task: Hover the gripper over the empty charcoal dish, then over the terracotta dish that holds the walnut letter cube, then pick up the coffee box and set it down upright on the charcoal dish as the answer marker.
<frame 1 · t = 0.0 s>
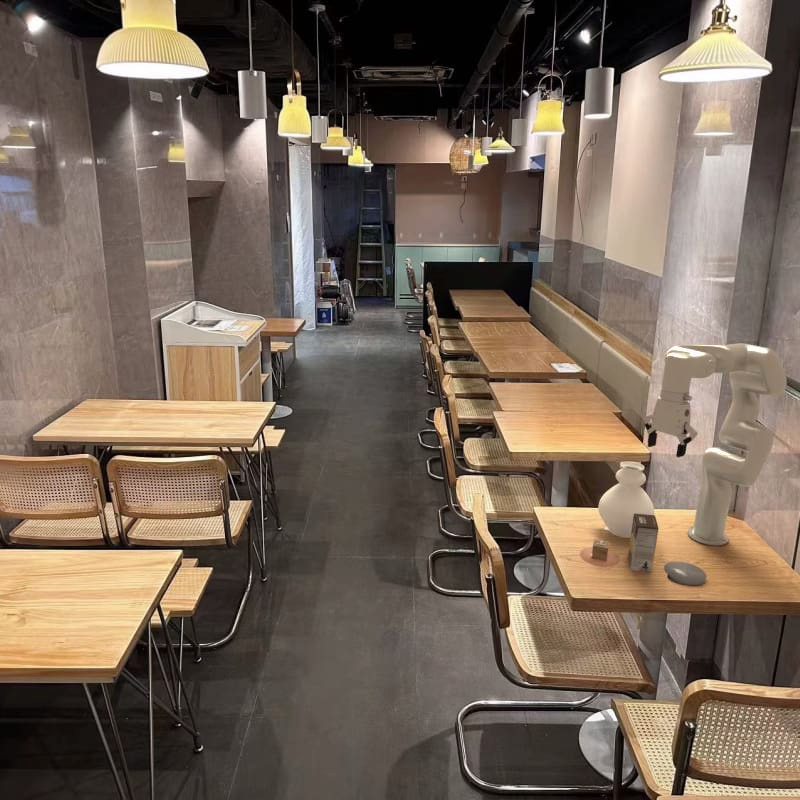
hand: (665, 451, 206), 37 cm above the table, tool pointing down, fingers open, 9 cm apart
decorative vase: (622, 535, 234), on the table
charcoal dish: (684, 575, 210), on the table
coffee box: (638, 568, 214), on the table
terracotta dish: (599, 559, 217), on the table
letter cube: (599, 556, 217), point 1 cm above the table, touching terracotta dish
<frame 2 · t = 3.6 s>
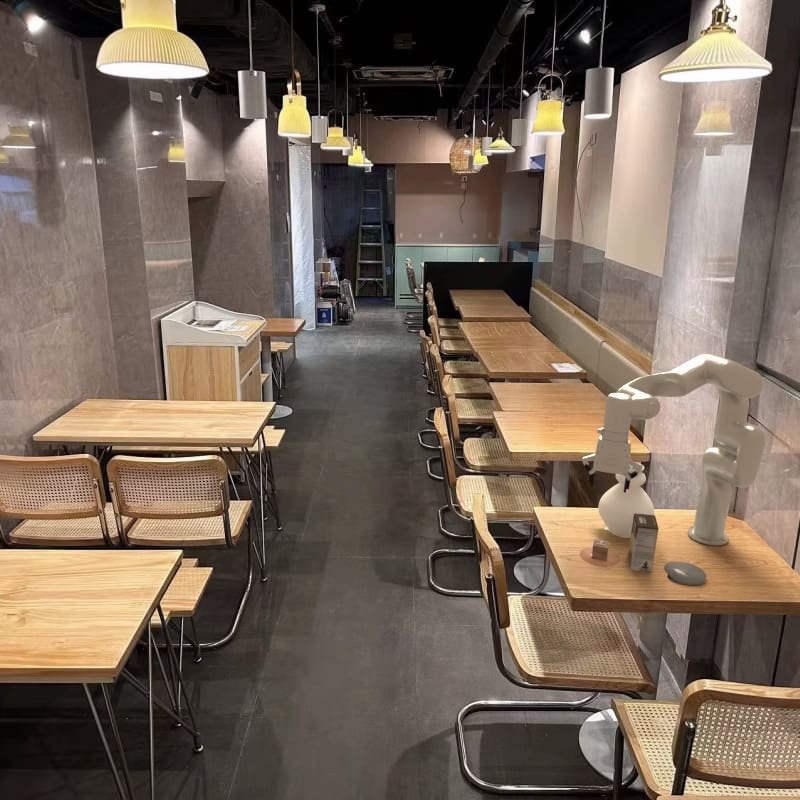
hand: (608, 488, 210), 24 cm above the table, tool pointing down, fingers open, 9 cm apart
nothing on the table moved.
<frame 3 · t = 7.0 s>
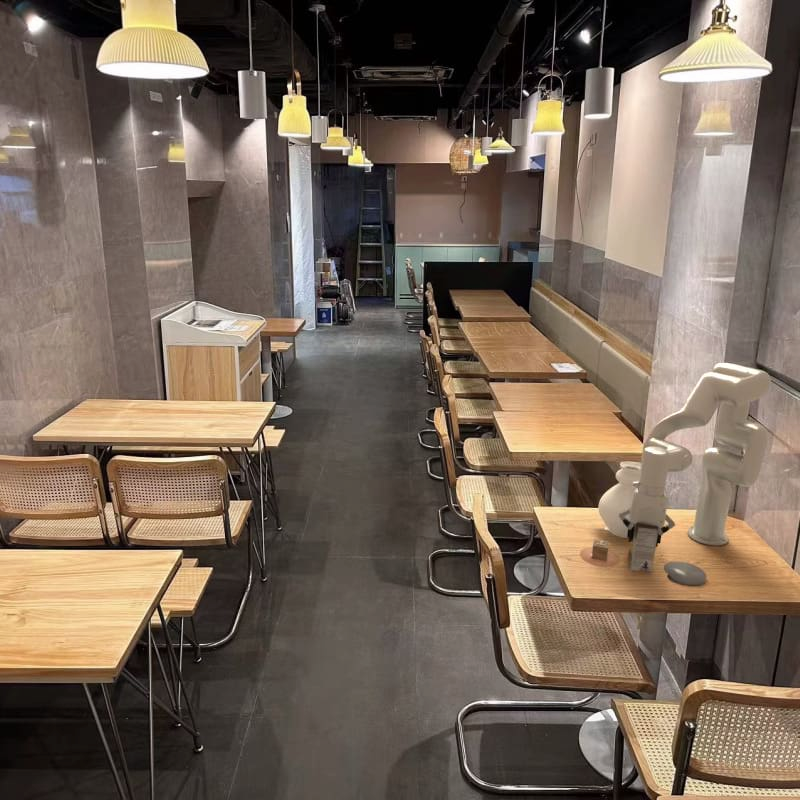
hand: (643, 542, 211), 9 cm above the table, tool pointing down, fingers closed on coffee box, 6 cm apart
coffee box: (638, 567, 214), on the table, touching gripper
everything else where it was.
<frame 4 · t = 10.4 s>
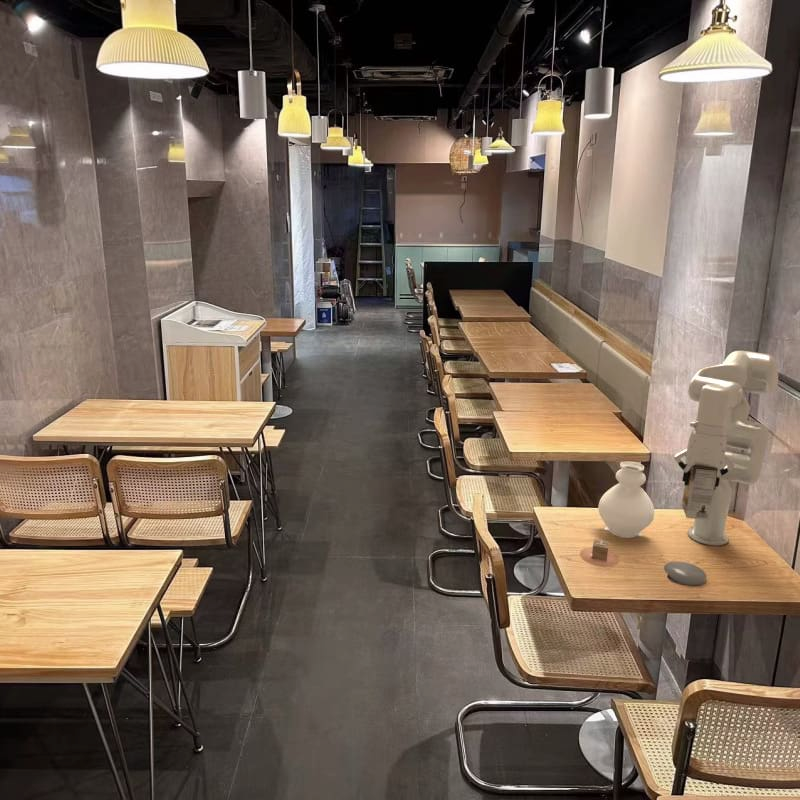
hand: (699, 485, 202), 29 cm above the table, tool pointing down, fingers closed on coffee box, 6 cm apart
coffee box: (694, 513, 205), point 20 cm above the table, touching gripper
everything else where it was.
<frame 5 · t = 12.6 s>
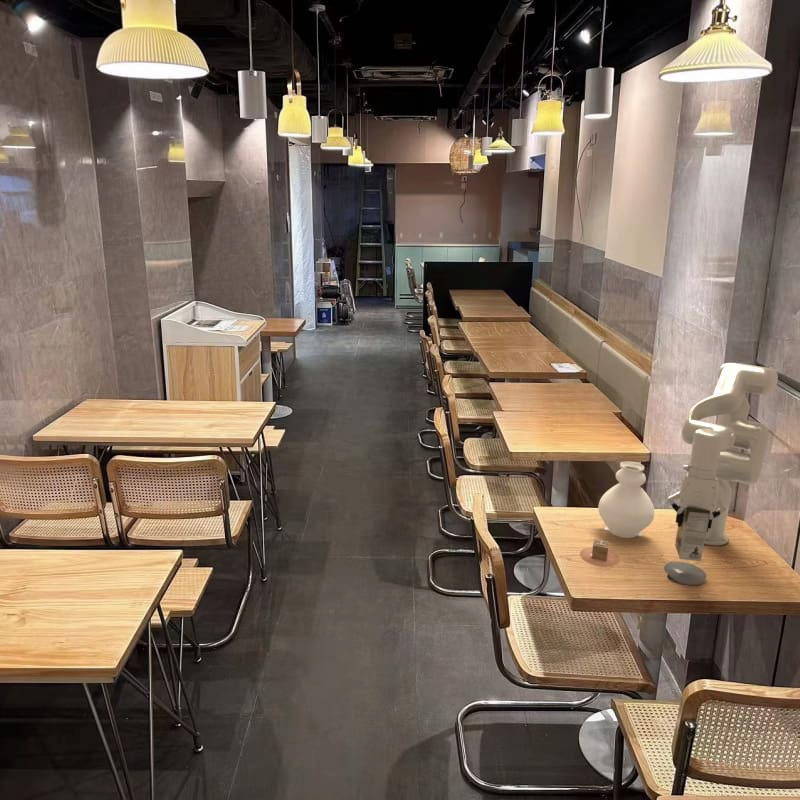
hand: (692, 527, 205), 16 cm above the table, tool pointing down, fingers closed on coffee box, 6 cm apart
coffee box: (687, 554, 208), point 7 cm above the table, touching gripper
everything else where it was.
when the fingers open (12 cm above the table, at t = 14.2 s): coffee box drops 2 cm, resting on charcoal dish.
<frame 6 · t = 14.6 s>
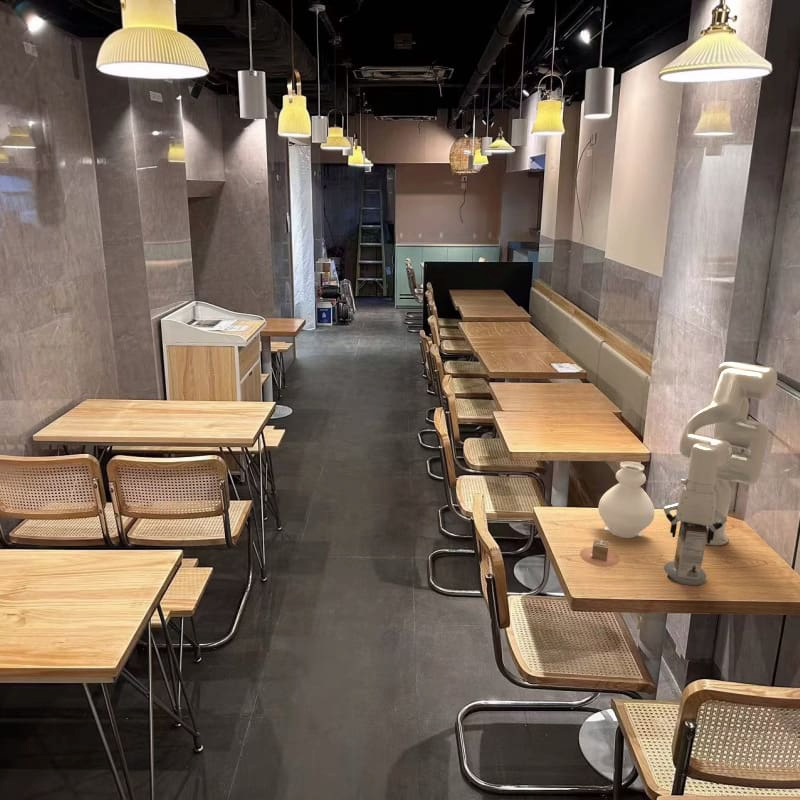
hand: (690, 538, 207), 12 cm above the table, tool pointing down, fingers open, 9 cm apart
coffee box: (686, 571, 210), point 1 cm above the table, touching charcoal dish
everything else where it was.
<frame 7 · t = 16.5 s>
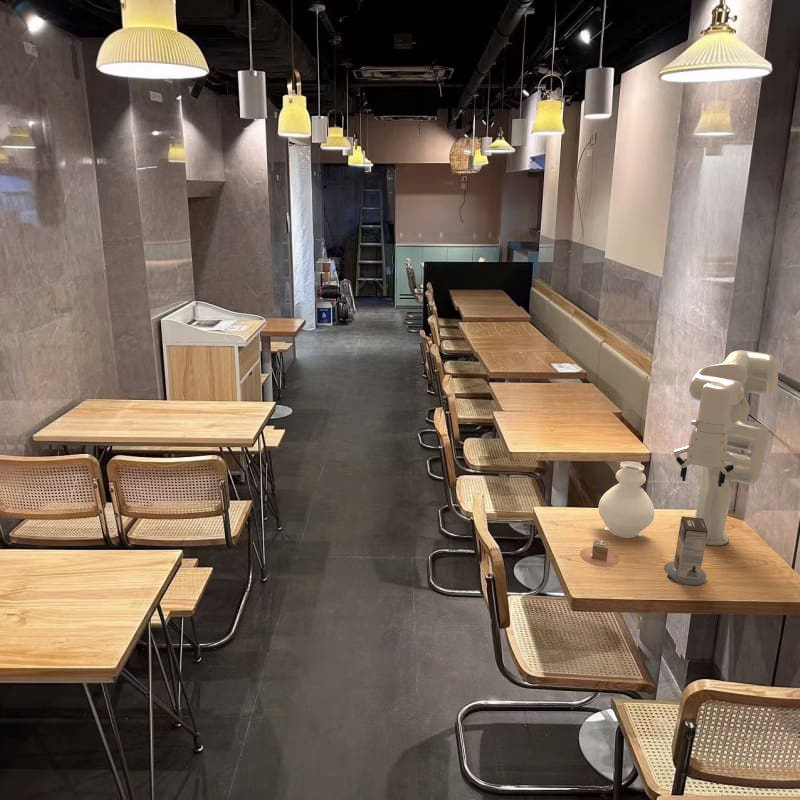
hand: (701, 482, 202), 30 cm above the table, tool pointing down, fingers open, 9 cm apart
nothing on the table moved.
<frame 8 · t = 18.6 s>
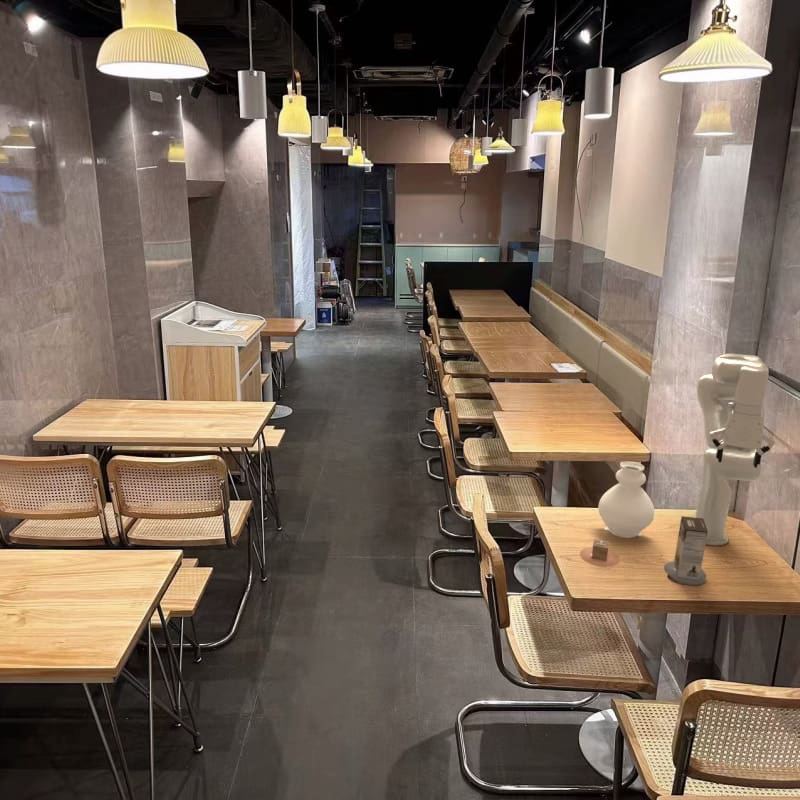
hand: (737, 463, 206), 34 cm above the table, tool pointing down, fingers open, 9 cm apart
nothing on the table moved.
at the end: coffee box 0.5 cm off-centre on the charcoal dish, point 1.0 cm above the charcoal dish's base; coffee box tilted 0°; letter cube moved 0.0 cm from its start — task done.
